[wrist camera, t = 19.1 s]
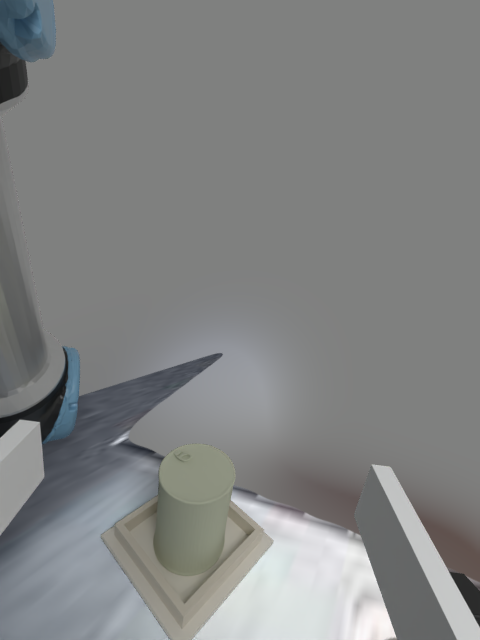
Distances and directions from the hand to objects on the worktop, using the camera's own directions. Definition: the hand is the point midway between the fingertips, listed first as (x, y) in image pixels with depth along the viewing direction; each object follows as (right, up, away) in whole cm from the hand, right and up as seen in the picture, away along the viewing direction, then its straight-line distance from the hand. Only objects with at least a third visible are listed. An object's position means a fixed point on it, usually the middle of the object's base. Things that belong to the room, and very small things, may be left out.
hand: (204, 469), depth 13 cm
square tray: (-5, -23, +29) cm, 38 cm away
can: (-5, -23, +29) cm, 37 cm away
